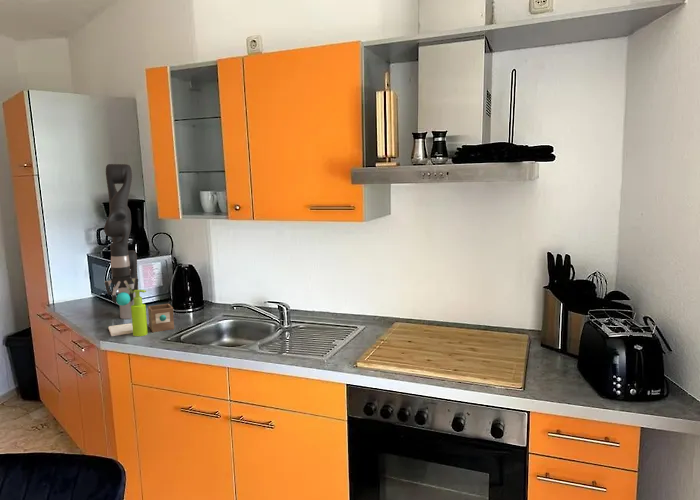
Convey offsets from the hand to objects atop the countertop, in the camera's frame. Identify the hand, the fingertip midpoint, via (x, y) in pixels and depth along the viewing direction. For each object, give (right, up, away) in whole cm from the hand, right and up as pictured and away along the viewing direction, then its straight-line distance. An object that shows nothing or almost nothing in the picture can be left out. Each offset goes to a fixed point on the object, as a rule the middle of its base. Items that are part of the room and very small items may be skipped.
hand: (123, 301), depth 224 cm
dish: (0, -13, +2) cm, 13 cm away
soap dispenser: (+10, -14, -5) cm, 18 cm away
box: (+16, -12, +4) cm, 21 cm away
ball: (0, +1, 0) cm, 1 cm away
